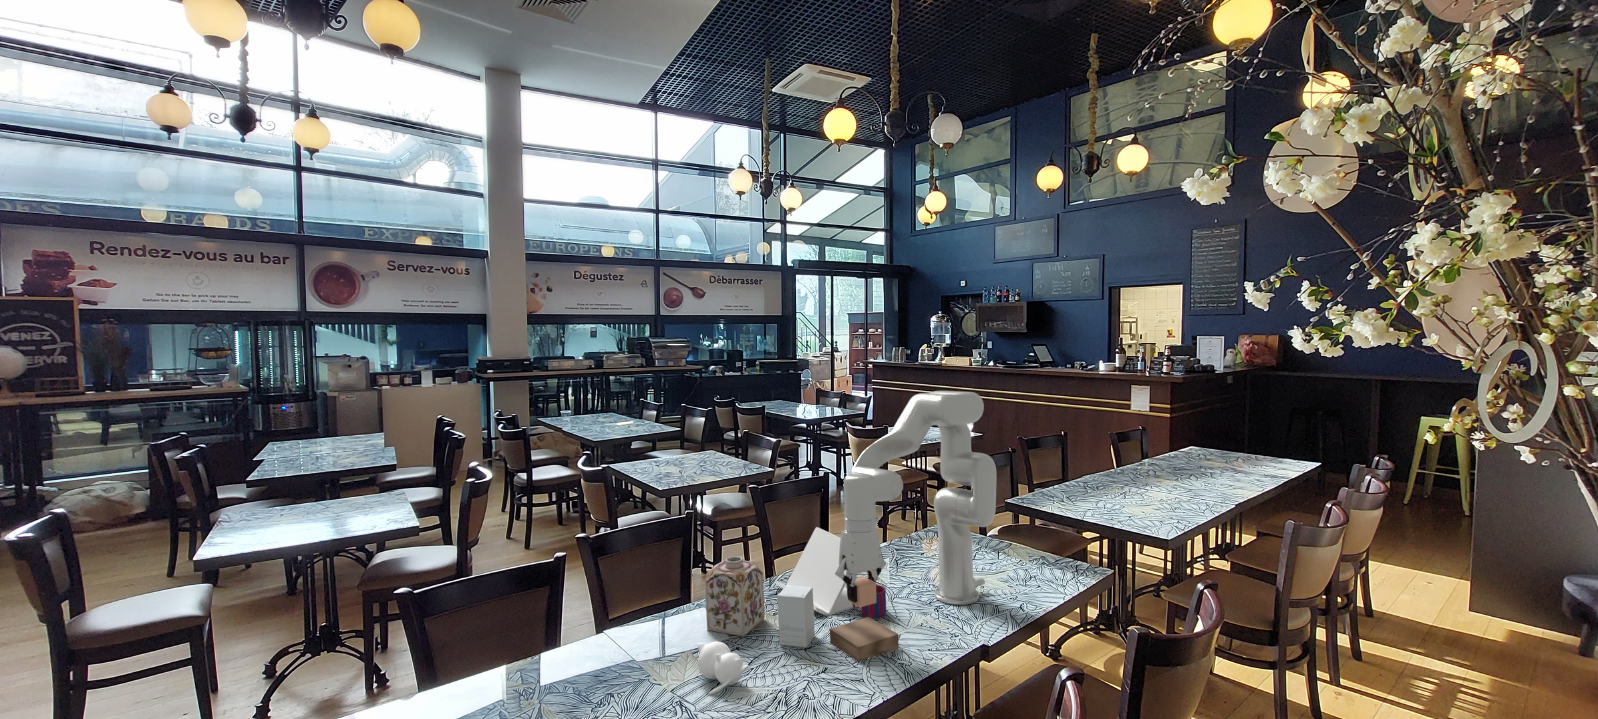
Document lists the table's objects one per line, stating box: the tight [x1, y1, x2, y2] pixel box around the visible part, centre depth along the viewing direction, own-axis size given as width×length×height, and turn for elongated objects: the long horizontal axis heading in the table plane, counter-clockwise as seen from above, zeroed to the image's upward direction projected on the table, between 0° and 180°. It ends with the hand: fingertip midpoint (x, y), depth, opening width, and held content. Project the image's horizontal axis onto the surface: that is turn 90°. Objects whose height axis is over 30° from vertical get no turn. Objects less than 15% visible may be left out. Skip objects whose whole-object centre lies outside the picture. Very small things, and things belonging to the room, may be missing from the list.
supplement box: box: [776, 584, 816, 648], centre depth 164 cm, size 7×7×13 cm
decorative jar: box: [705, 555, 765, 637], centre depth 174 cm, size 12×12×18 cm
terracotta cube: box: [848, 576, 877, 608], centre depth 159 cm, size 5×5×5 cm
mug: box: [852, 584, 887, 619], centre depth 178 cm, size 7×10×7 cm
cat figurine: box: [697, 641, 750, 696], centre depth 145 cm, size 9×11×12 cm
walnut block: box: [829, 617, 900, 663], centre depth 160 cm, size 12×12×4 cm
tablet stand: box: [775, 526, 859, 617], centre depth 192 cm, size 18×25×17 cm
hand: (861, 597), depth 160 cm, fingers closed on terracotta cube, 4 cm apart
